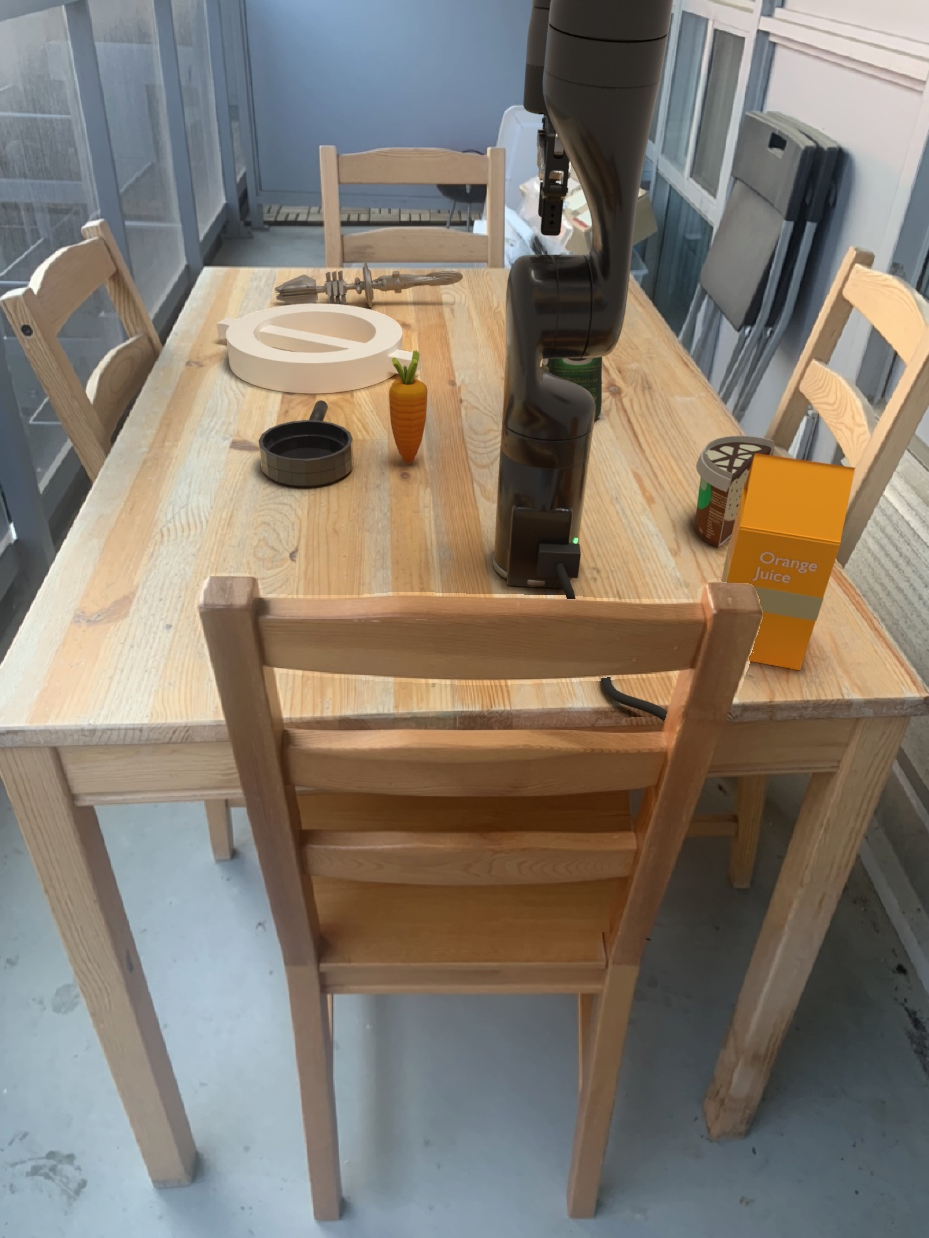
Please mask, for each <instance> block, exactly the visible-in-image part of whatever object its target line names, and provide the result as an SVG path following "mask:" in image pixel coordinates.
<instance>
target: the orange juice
mask: <svg viewBox="0 0 929 1238" xmlns="http://www.w3.org/2000/svg"><path fill="white" fill-rule="evenodd" d="M855 470H856V467H853V466H847V465H840V464H832V463H825V462H819V461H811V460H805V459H799V458H798V459H797V458H791V457H785V456H777V455H773V456H771V455H764V454H757V453H755V455H754V458H753V461H752V464H751V467H750V470H749V473H748V476H747V479H746V482H745V485H744V488H743V489H742V494H741V498H740V502H739V506H738V511H737V515H736V519H735V523H734V527H733V532H732V536H731V538H730V539H729V543H728V547H727V551H726V554H725V555H726V556H725V560H724V565H723V570H722V574H721V578H720V582H721V581H722V582H727V583H749V584H752V585H753V586H754V588H755V589H756V591H757V594H758V596H759V599H760V605H761V607H762V610H763V619H762V622H761V624H760V629H759V632H758V635H757V637H756V639H755V643H754V647H753V650H752V653H751V655H750V656H749V660H748V662H754V663H757V664H758V663H759V664H764V665H769V666H774V667H781V668H785V669H791V670H795V671H801V668H802V665H803V662H804V659H805V656H806V653H807V650H808V647H809V644H810V640H811V637H812V634H813V631H814V628H815V625H816V622H817V620H818V617H819V614H820V610H821V607H822V604H823V602H824V598H825V597H824V596H825V594H826V590H827V588H828V584H829V581H830V578H831V575H832V572H833V568H834V566H835V563H836V559H837V556H838V553H839V550H840V547H841V544H842V536H843V531H844V527H845V521H846V516H847V512H848V506H849V500H850V496H851V492H852V485H853V481H854V476H855V472H856V471H855ZM753 652H754V653H753Z"/></svg>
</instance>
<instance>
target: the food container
mask: <svg viewBox="0 0 929 1238" xmlns="http://www.w3.org/2000/svg"><path fill="white" fill-rule="evenodd" d="M775 444H776V441H775V440H772V439H769V438H765V437H761V436H760V437H759V436H753V435H727V436H721V437H718V438H715V439H713V440H711V441H710V442H708V443H707V444H706V446H705V447H704V448H703V449H702V451H701V453H700V455H699V457H698V459H697V461H696V465H695V468H696V472H697V474H698V475H699V476H700V479H699V486H698V493H697V504H696V511H695V519H694V531H695V533H696V535H698V537H699V538H700V539H701V540H702V541H704V542H705V543H707V544H709V545H710V546H713V547H715V548H716V549H719V548H720V547H722V546H723V545H724V544H725V543H726V542H727V541H729V540H730V539H731V536H732V532H733V527H734V523H735V519H736V515H737V511H738V506H739V502H740V498H741V494H742V489H743V488H744V485H745V482H746V479H747V476H748V473H749V470H750V467H751V464H752V461H753V458H754V455H755V453H757V454H764V455H771V456H774V452H775V447H776V446H775Z"/></svg>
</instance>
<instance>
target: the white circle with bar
mask: <svg viewBox="0 0 929 1238" xmlns="http://www.w3.org/2000/svg"><path fill="white" fill-rule="evenodd" d="M216 326H217V336H218V338H221V339H225V340H226V344H227V345H226V346H227V355H228V364H229V368H230V370H231V372H232V373H233V374H234V375H235V376H236V377H238V378H239V379H240V380H242V381H244V382H246V383H248V384H250V385H253V386H256V387H260V388H263V389H266V390H271V391H276V392H277V391H278V392H282V393H283V392H284V393H290V394H291V393H292V394H313V395H314V394H332V393H333V394H334V393H342V392H349V391H355V390H359V389H363V388H367V387H371V386H374V385H377V384H380V383H382V382H384V381H386V380H389V378H391V377H393V376H394V375H396V374H398V372H397V370H396V368H395V367H394V365H393V361H392V358H394V357H395V358H396V359H397V360H398V361H399V363H400V364H401V366H402V369H403V366H404V365H405V366H407V370H408V368H409V365H410V363H411V361H412V355H413V351H407V350H403V347H404V346H403V328H402V326H401V325H400V323H399V322H397V320H395V319H394V318H392V317H390V316H388V315H387V314H384V313H382V312H379V311H376V310H373V309H369V308H364V307H361V306H355V305H348V304H340V303H339V304H336V303H334V304H330V303H313V304H286V305H278V306H274V307H269V308H264V309H259V310H257V311H253V312H250V313H248V314H245V315H243V316H241V317H239V318H235V317H229V316H228V317H226V318H224V319H222V320H220V321H218V322H216ZM420 370H421V353H420V354H419V360H418V365H417V369H416V373H417V372H418V371H420ZM403 372H404V369H403ZM398 375H399V374H398Z"/></svg>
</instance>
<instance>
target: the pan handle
mask: <svg viewBox="0 0 929 1238" xmlns="http://www.w3.org/2000/svg"><path fill="white" fill-rule="evenodd" d="M328 408H329V405H328V403H327V402H326V401H325V400H322V399H321V400H317V401H316V402H315V404H314V406H313V409H312V411H311V413H310V416H309V417H308V420H317V421H325V420H324V419H325V417H326V415H327V412H328Z"/></svg>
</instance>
